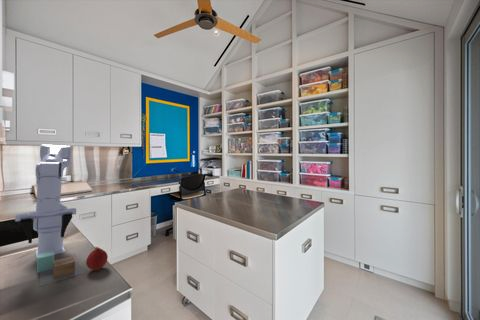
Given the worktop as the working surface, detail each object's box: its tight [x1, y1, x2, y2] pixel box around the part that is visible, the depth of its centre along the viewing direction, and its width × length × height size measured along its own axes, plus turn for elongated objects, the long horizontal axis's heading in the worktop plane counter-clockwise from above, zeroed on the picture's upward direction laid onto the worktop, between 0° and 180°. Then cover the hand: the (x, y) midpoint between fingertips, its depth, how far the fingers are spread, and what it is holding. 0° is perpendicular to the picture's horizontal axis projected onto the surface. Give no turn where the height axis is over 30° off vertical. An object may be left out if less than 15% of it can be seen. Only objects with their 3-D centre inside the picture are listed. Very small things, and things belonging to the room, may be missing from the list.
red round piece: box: [85, 246, 109, 272], centre depth 68 cm, size 6×6×8 cm
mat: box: [38, 261, 85, 287], centre depth 66 cm, size 10×10×1 cm
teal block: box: [36, 251, 56, 274], centre depth 68 cm, size 4×4×5 cm
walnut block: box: [53, 255, 76, 278], centre depth 66 cm, size 5×5×4 cm
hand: (46, 239), depth 67 cm, fingers open, 7 cm apart
